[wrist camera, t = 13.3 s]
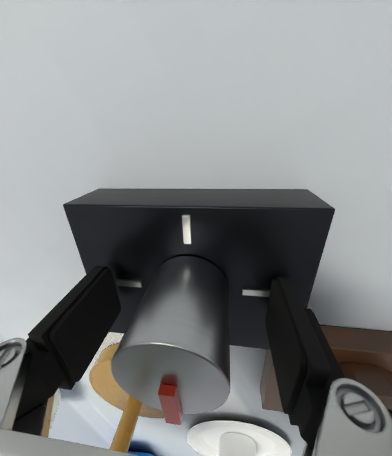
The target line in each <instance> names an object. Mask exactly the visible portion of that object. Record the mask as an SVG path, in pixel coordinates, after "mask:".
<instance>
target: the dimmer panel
mask: <svg viewBox="0 0 392 456" xmlns="http://www.w3.org/2000/svg"><path fill="white" fill-rule="evenodd" d="M63 206H64V209H65V212H66V215H67V218H68V221H69V224H70V227H71V230H72V233H73V236H74V239H75V242H76V245H77V248H78V251H79V254H80V257H81V260H82V262H83V265H84V268H85V271H86V274H88V273H89V272H90V271H91V270H92V269H93V267H95V266H107V267H108V268H109V269H110V270H111V271H112V274H113V278H114V282H115V286H116V289H117V293H118V297H119V301H120V304H121V311H120V313H119V315H118V317H117V318H116V320H115V322H114V324H113V325H112V327H111V329H110V330H109V332H116V333H125V332H126V330H127V328H128V326H129V324H130V322H131V320H132V318H133V316H134V314H135V312H136V310H137V308H138V306H139V304H140V302H141V300H142V298H143V296H144V294H145V292H146V290H147V288H148V286H149V284H150V282H151V280H152V278H153V276H154V274H155V272H156V271H157V269H158V268H159V267H160V265H162V264H163V263H164V262H166V261H167V260H170V259H172V258H175V257H180V256H193V257H198V258H201V259H204V260H206V261H208V262H210V263H212V264H213V265H215V266H216V267H217V268H218V269H219V270H220V271H221V272H222V273H223V275H224V276H225V278H226V280H227V283H228V288H229V343H230V345H234V346H243V347H252V348H262V349H270V346H269V341H268V336H267V331H266V325H265V319H266V313H267V307H268V301H269V296H270V290H271V284H272V280H276V278H277V277H287V278H291V280H292V282H293V284H294V286H295V289H296V291H297V293H298V295H299V298H300V300H301V302H302V304H303V307H304V308H307V305H308V301H309V298H310V294H311V291H312V287H313V284H314V280H315V277H316V274H317V270H318V267H319V263H320V260H321V256H322V253H323V249H324V246H325V242H326V239H327V236H328V232H329V229H330V225H331V222H332V218H333V215H334V211H335V209H334V208H333V207H332V206H330V205H329V204H327V203H326V202H324V201H323V200H322V199H320V198H319V197H317V196H316V195H314V194H313V193H312V192H310V191H309V190H304V189H97V190H95V191H93V192H90V193H88V194H86V195H84V196H81V197H79V198H77V199H75V200H72V201H70V202H68V203H65V204H64V205H63Z"/></svg>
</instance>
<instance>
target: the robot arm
mask: <svg viewBox="0 0 392 456" xmlns="http://www.w3.org/2000/svg"><path fill="white" fill-rule="evenodd" d="M120 311H121V304H120V301H119V297H118V293H117V289H116V286H115V282H114V278H113V274H112V271H111V270H110V269H109V268H108V267H107V266H95V267H93V269H92V270H91V271H90V272H89V273H88V274H87V275H86V276H85V277H84V278H83V279H82V280H81V281H80V282H79V283H78V284H77V285H76V286H75V287H74V288H73V289H72V290H71V291H70V292H69V293H68V294H67V295H66V296H65V297H64V298H63V299H62V300H61V301H60V302H59V303H58V304H57V305H56V306H55V307H54V308H53V309H52V310H51V311H50V312H49V313H48V314H47V315H46V316H45V317H44V318H43V319H42V320H41V321H40V322H39V323H38V324H37V325H36V326H35V327H34V328H33V329H32V331H31V332H30V333H29V334H28V335H29V338H28V339H27V340H26V341H25V340H24V339H22V338H14V339H10V340H7V341H5V342H2V343H1V344H0V456H139V455H134V454H129V453H124V452H119V451H114V450H109V449H104V448H99V447H94V446H89V445H84V444H78V443H73V442H68V441H63V440H58V439H52V438H48V434H49V428H50V421H51V415H52V408H53V402H54V395H55V393H56V391H57V389H58V388H59V387H60V388H63V389H69V390H72V388H73V386H74V385H75V383H76V382H78V381H79V380H80V379H81V378H82V376H83V374H84V373H85V371H86V369H87V368H88V366H89V364H90V363H91V361H92V359H93V357H94V356H95V354H96V352H97V351H98V349H99V347H100V346H101V344H102V342H103V341H104V339H105V337H106V335H107V334H108V332H109V330H110V329H111V327H112V325H113V324H114V322H115V320H116V318H117V317H118V315H119V313H120ZM265 325H266V331H267V336H268V341H269V346H270V351H271V355H272V360H273V365H274V370H275V375H276V380H277V385H278V390H279V395H280V400H281V404H282V409H283V412H284V413H285V414H288V415H289V419H290V424H291V425H297V426H298V427H299V431H300V435H301V437H302V438H303V439H304V440H305V441H306V443H305V447H304V451H303V455H302V456H392V418H391V416H390V414H389V412H388V410H387V408H386V407H385V406H384V404H383V403H382V402H381V400H380V399H379V398H378V397H377V396H376V395H375V394H374V393H373V392H372V391H371V390H369V389H368V388H367V387H365V386H364V385H362V384H361V383H358V382H356V381H354V380H351V379H347V378H345V376H344V374H343V372H342V370H341V368H340V366H339V364H338V362H337V360H336V358H335V356H334V353H333V351H332V349H331V347H330V345H329V343H328V341H327V339H326V337H325V335H324V333H323V331H322V329H321V327H320V325H319V323H318V321H317V319H316V317H315V314H314V313H313V311H312V310H311V309H307V308H304V307H303V304H302V302H301V300H300V298H299V295H298V293H297V291H296V289H295V286H294V284H293V282H292V280H291V278H287V277H277V278H276V280H272V284H271V290H270V296H269V301H268V307H267V313H266V319H265Z"/></svg>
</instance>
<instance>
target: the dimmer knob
mask: <svg viewBox="0 0 392 456" xmlns="http://www.w3.org/2000/svg"><path fill="white" fill-rule="evenodd" d="M111 373H112V376H113V378H114V380H115V381H116V383H117V384H118V385H119V386H120V387H121V388H122V389H123V390H124V391H125V392H126V393H127V394H129V395H130V396H131V397H133V398H135V399H136V400H138V401H140V402H142V403H144V404H146V405H148V406H151V407H153V408H156V409H159V410H163V413H164V417H165V420H166V423H171V424H178V425H181V422H182V414H198V413H204V412H208V411H211V410H214V409H216V408H218V407H220V406H221V405H222V404H223V403H224V402H225V401H226V400H227V398H228V396H229V393H230V343H229V288H228V283H227V280H226V278H225V276H224V275H223V273H222V272H221V271H220V270H219V269H218V268H217V267H216V266H215V265H213V264H212V263H210V262H208V261H206V260H204V259H201V258H198V257H193V256H180V257H175V258H172V259H170V260H167V261H166V262H164V263H163V264H162V265H160V267H159V268H158V269H157V271H156V272H155V274H154V276H153V278H152V280H151V282H150V284H149V286H148V288H147V290H146V292H145V294H144V296H143V298H142V300H141V302H140V304H139V306H138V308H137V310H136V312H135V314H134V316H133V318H132V320H131V322H130V324H129V326H128V328H127V330H126V332H125V334H124V336H123V338H122V340H121V342H120V344H119V346H118V348H117V349H116V351H115V353H114V355H113V358H112V360H111Z"/></svg>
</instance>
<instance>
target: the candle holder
mask: <svg viewBox="0 0 392 456" xmlns="http://www.w3.org/2000/svg"><path fill="white" fill-rule="evenodd" d="M187 441H188V443H189V444H190V446H191V447H192V448H193V449H194V450H195V451H197V452H198V453H200V454H201V455H203V456H291V448H290V446H289V444H288V443H287V442H286V441H285V440H284V439H283V438H281V437H280V436H279V435H277V434H275V433H274V432H272V431H270V430H267V429H265V428H262V427H260V426H256V425H253V424H249V423H244V422H239V421H230V420H215V421H207V422H203V423H199V424H197V425H195V426H193V427H192V428H190V429H189V431H188V432H187Z"/></svg>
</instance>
